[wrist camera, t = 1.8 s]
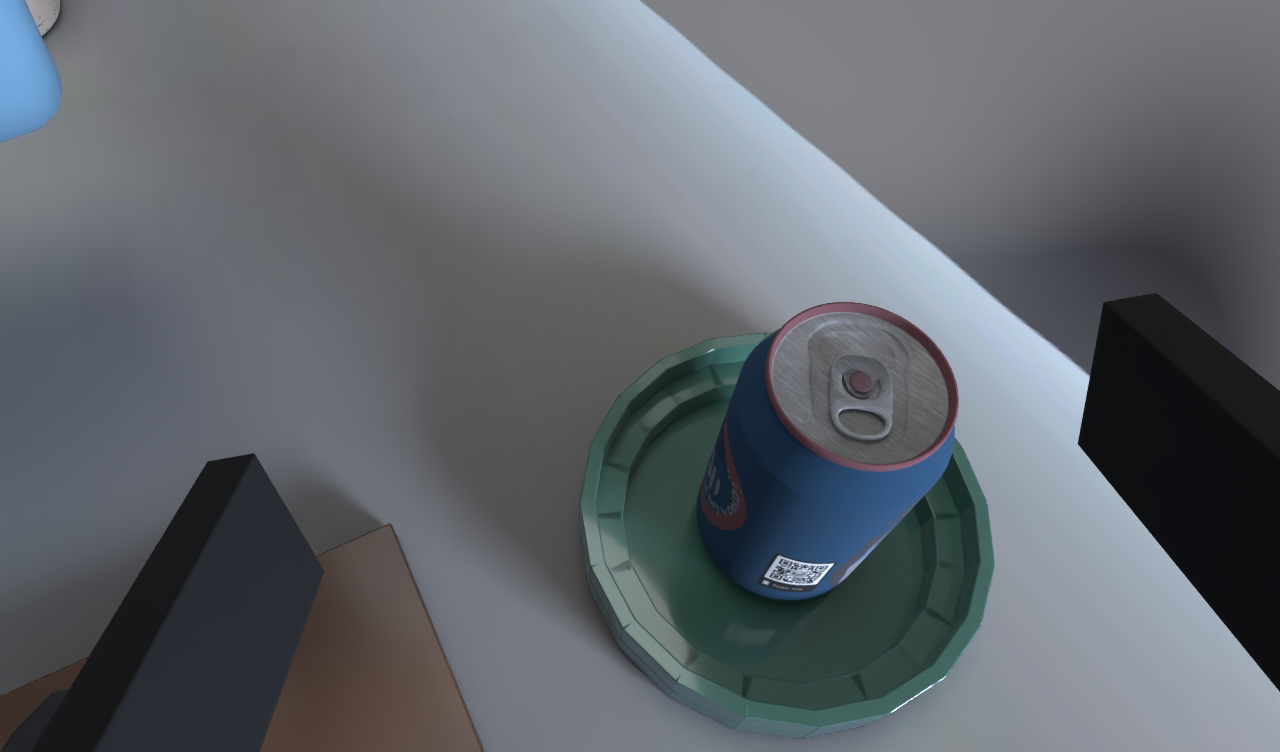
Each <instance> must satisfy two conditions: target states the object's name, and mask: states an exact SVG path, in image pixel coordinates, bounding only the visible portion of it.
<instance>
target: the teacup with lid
mask: <svg viewBox="0 0 1280 752" xmlns="http://www.w3.org/2000/svg"><path fill="white" fill-rule="evenodd" d="M25 1H26V3H27V5H28V7H29V10H30V12H31V14H32V16H33V18H34V21H35V23H36V25H37V27H38V29H39V31H40V34H41V36H43V35H44V34H45V33H46V32H47V31H48V30H49V29H50V28H51V27H52V26H53V24H54V23H55V21H56V19H57V17H58V14H59V11H60V0H25Z"/></svg>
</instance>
